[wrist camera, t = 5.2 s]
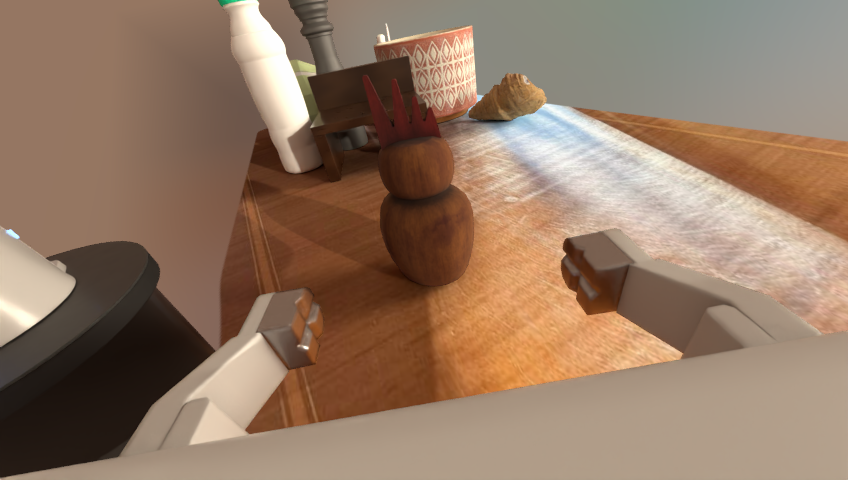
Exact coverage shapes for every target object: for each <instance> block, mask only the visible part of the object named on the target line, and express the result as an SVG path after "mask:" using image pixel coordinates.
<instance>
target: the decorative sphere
mask: <svg viewBox="0 0 848 480" xmlns="http://www.w3.org/2000/svg"><path fill="white" fill-rule="evenodd" d="M289 62H290V64H291V66H292V69H293V71H294V74H295V76H296V79H297V81H298V84H299V87H300V90H301V92H302V95H303V98H304V101H305V104H306V107H307V111H308V114H309V118H310V120H311V121H312V123H313V122H314V120H315V118H316V116H317V114H318V113H319V110H318V107H317V104H316V102H315V99H314V96H313V93H312V90H311V87H310V84H309V81H308V79H307V77H308V76H313V75H316V67H315V66H314V65H311V64H308V63H305V62H302V61H299V60H291V61H289Z"/></svg>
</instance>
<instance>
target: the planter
mask: <svg viewBox="0 0 848 480" xmlns="http://www.w3.org/2000/svg"><path fill="white" fill-rule="evenodd" d="M374 50H375V55H376V59H377V62H379V61H384V60H388V59H393V58H398V57H403V56H407V55H408V56H409V60H410V66H411V72H412V78H413V83H414V89H415V92H416V93H417V94H418V95H419V96H420V97H421V98H422V99H423V100H424V101H425V102H426V104H427V108H428V107H432V110H433V113H434V115H435V118H436V121H437V123H440V122H445V121H448V120H452V119H454V118H457V117H459V116H461V115H463V114H465V113H466V112H467V111H468V108H470V107H472V106H473V105H475V103H476V102H477V95H476V79H475V64H474V49H473V32H472V25H468V26H461V27H455V28H450V29H444V30H439V31H434V32H429V33H424V34H419V35H414V36H409V37H405V38H400V39H396V40H392V41H387V42H383V43H379V44H376V45H374ZM408 118H409V116H408ZM393 120H394V119H393ZM409 122H410V118H409Z"/></svg>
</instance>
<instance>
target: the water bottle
mask: <svg viewBox="0 0 848 480" xmlns="http://www.w3.org/2000/svg"><path fill="white" fill-rule="evenodd" d="M218 1H219V3H220V5H221V6H222V7H223V10H225V11H226V12H227V13H228V14H229V17H230V21H231V22H230V33H231V36H232V38H231V51H232V54H233V57H234V58H235V60H236V61H237V62H238V63H239V66H240V68H241V71H242V74H243V77H244V79H245V82H246V84H247V87H248V89H249V91H250V94H251V96H252V98H253V100H254V102H255V105H256V106H257V109H258V111H259V113H260V115H261V117H262V119H263V121H264V122H265V124H266V126H267V128H268V130H269V134H270V137H271V140H272V142H273V144H274V146H275V147H276V149H277V151H278V153H279V157H280V159H281V162H282V164H283V166H284V168H285V170H286V171H287V172H289V173H294V174H297V173H304V172H308V171H311V170H313V169H316V168H318V167H319V166H321V165H322V164H323V161H322V159H321V156H320V153H319V151H318V148H317V145H316V143H315V140H314V137H313V135H312V132H311V129H310V127H311V126H312V124H313V123H312V121H311V120H310V118H309V114H308V111H307V107H306V104H305V101H304V98H303V95H302V92H301V90H300V87H299V84H298V81H297V79H296V76H295V74H294V71H293V69H292V66H291V64H290V62H289V60H288V58H287V56H286V49H285V45H284V43H283V41H282V40H281V39H280V37H279V36H278V35H277V33H276V32H275V31H274V30H272V28H271V26H270V25H269V23H268V22H267V21H266V20H265V19H264V18H263V17H262V16H261V14H260V12H259V10H258V5H259V3H258V2H257V1H258V0H218Z"/></svg>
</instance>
